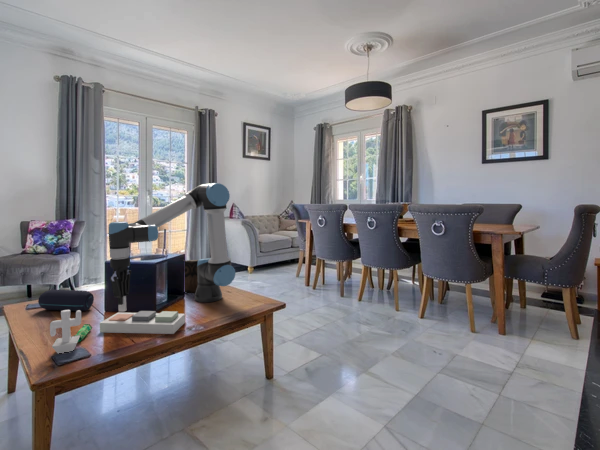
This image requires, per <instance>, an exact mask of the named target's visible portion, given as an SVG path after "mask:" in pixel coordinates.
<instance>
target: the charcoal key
mask: <svg viewBox="0 0 600 450" xmlns="http://www.w3.org/2000/svg"><path fill="white" fill-rule="evenodd" d="M135 313H136V314H135V315H133V316H132V321H145V322H149V321H150V320H151V319H153V318H154V317H155V316H156V313H157V311H156V310H139V311H138V312H135Z"/></svg>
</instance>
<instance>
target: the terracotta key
mask: <svg viewBox="0 0 600 450" xmlns="http://www.w3.org/2000/svg"><path fill="white" fill-rule="evenodd" d="M133 315H134V314H117V315H116V316H114V317H112V318H111V319H109V321H126V320H128V319H129V318H131V317H132V316H133Z"/></svg>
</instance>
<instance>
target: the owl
mask: <svg viewBox="0 0 600 450" xmlns="http://www.w3.org/2000/svg"><path fill="white" fill-rule="evenodd" d="M198 260H199V259H189V260H188V259H187V260H184V261H185V292H186V293H185V294H195V293H196V289H197V286H198V273H197V264H198Z"/></svg>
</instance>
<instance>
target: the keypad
mask: <svg viewBox="0 0 600 450" xmlns="http://www.w3.org/2000/svg"><path fill="white" fill-rule="evenodd" d="M136 313H137V312H119V311H118V312H116V313H114V314H113V315H111V316H109V317H108V318H106V319H103V320H102V321H101V322H99V333H106V334H107V333H112V334H113V333H114V334H115V333H116V334H122V333H124V334H156V335H157V334H162V335H165V334H166V335H174V334H175V333H176V332H177V331H178V330H179V329H180V328H181V327H182V326H183V325H184V324H186V313H178V317H177V318H176V319H175V320H174V321H173V322H155V317H156V316H157V315H158V314H160V313H161V312H156V316H155V317H154V318H153V319H151V320H150V321H149V322H145V321H132V317H131V318H129V319H128V320H126V321H109V319H111V318H112V317H114V316H116V315H117V314H134V315H135V314H136Z"/></svg>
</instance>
